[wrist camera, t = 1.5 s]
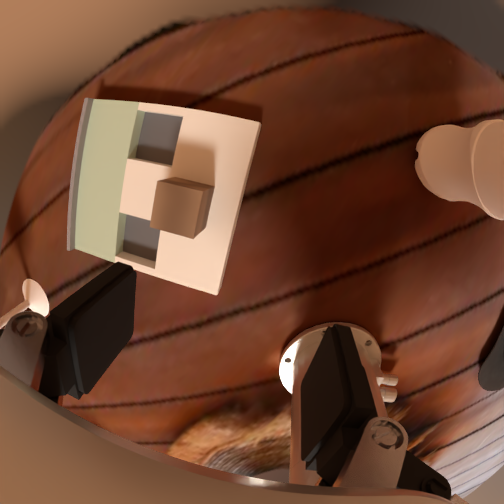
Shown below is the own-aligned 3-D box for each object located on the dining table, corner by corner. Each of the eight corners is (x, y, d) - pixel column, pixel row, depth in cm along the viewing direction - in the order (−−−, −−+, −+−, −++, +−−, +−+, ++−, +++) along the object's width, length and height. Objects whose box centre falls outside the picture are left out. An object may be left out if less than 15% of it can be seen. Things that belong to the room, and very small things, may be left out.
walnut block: (214, 186, 26) (203, 191, 22) (205, 227, 27) (193, 239, 24) (174, 176, 26) (157, 180, 22) (167, 217, 28) (149, 226, 24)
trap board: (261, 124, 26) (258, 121, 23) (221, 287, 31) (214, 299, 29) (100, 101, 26) (84, 98, 23) (81, 242, 32) (67, 249, 29)
